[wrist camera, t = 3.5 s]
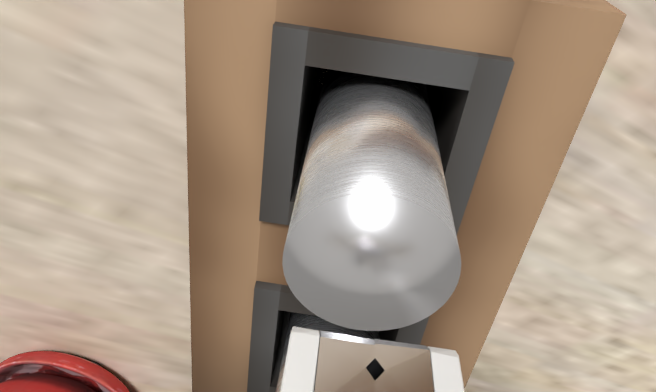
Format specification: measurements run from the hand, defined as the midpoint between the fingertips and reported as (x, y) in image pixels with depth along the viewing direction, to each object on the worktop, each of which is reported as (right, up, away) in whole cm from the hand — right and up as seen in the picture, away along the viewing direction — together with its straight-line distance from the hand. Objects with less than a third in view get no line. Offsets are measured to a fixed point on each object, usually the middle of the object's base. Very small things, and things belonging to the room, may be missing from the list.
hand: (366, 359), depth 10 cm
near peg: (+1, +7, +11) cm, 13 cm away
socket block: (+1, +6, +18) cm, 19 cm away
